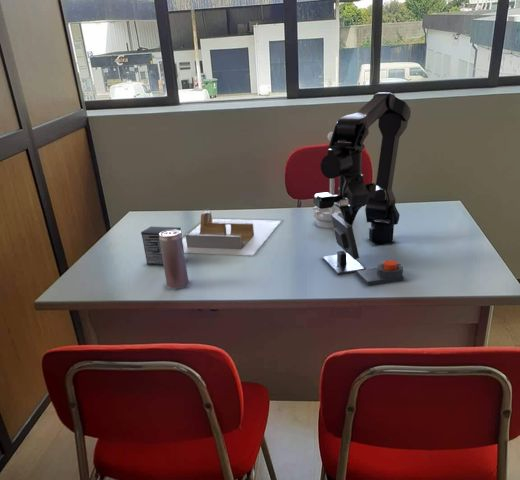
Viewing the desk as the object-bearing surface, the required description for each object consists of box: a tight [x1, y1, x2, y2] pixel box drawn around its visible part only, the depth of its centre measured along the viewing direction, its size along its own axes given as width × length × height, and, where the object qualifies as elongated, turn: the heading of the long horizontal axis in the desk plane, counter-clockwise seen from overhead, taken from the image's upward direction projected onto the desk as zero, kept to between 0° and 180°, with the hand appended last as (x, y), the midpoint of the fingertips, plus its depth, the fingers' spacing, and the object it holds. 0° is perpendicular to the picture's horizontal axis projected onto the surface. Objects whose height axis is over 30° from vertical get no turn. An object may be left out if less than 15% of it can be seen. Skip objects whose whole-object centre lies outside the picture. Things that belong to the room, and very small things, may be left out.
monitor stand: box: [322, 250, 366, 276], centre depth 148 cm, size 8×13×4 cm, turn 12°
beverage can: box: [159, 229, 189, 290], centre depth 141 cm, size 6×6×15 cm
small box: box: [140, 226, 182, 267], centre depth 158 cm, size 11×6×10 cm, turn 71°
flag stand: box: [312, 131, 344, 229], centre depth 175 cm, size 13×13×30 cm
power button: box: [383, 259, 399, 270], centre depth 138 cm, size 4×4×2 cm
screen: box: [331, 213, 360, 260], centre depth 145 cm, size 3×13×10 cm, turn 13°
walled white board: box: [182, 208, 282, 256], centre depth 177 cm, size 29×35×8 cm
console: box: [355, 262, 405, 287], centre depth 139 cm, size 11×8×3 cm
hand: (349, 228), depth 144 cm, fingers closed
